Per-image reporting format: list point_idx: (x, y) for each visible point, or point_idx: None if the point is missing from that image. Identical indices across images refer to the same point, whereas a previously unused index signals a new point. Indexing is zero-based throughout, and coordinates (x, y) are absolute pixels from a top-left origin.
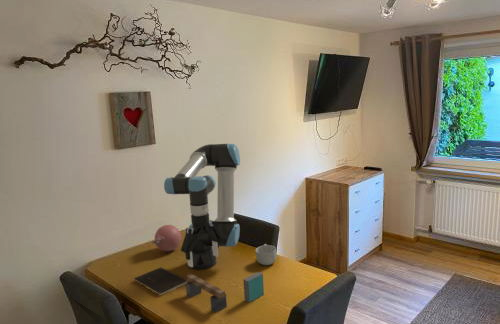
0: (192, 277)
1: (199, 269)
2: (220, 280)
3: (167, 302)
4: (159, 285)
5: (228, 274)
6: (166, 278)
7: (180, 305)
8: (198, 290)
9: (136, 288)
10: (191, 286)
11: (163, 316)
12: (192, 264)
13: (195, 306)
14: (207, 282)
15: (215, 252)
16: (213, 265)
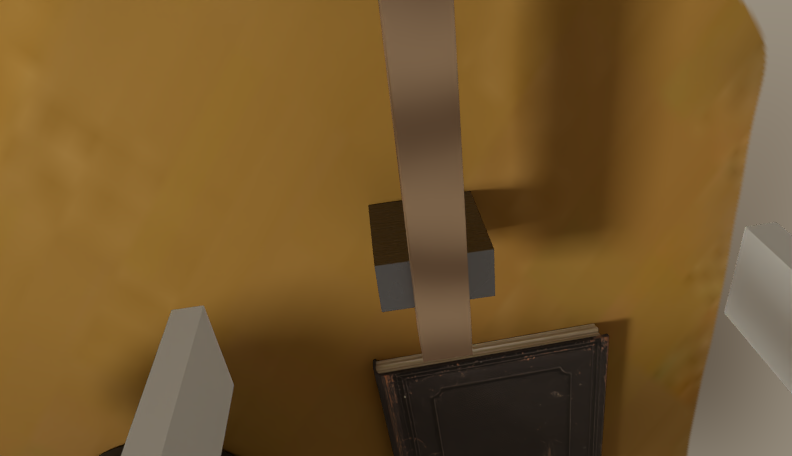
0: (453, 303)
1: (227, 454)
2: (153, 269)
3: (615, 235)
4: (552, 409)
5: (55, 307)
6: (472, 453)
7: (583, 146)
8: (396, 217)
9: (627, 453)
10: (471, 242)
11: (754, 94)
12: (787, 251)
13: (516, 57)
14: (399, 133)
15: (201, 389)
16: (116, 451)
